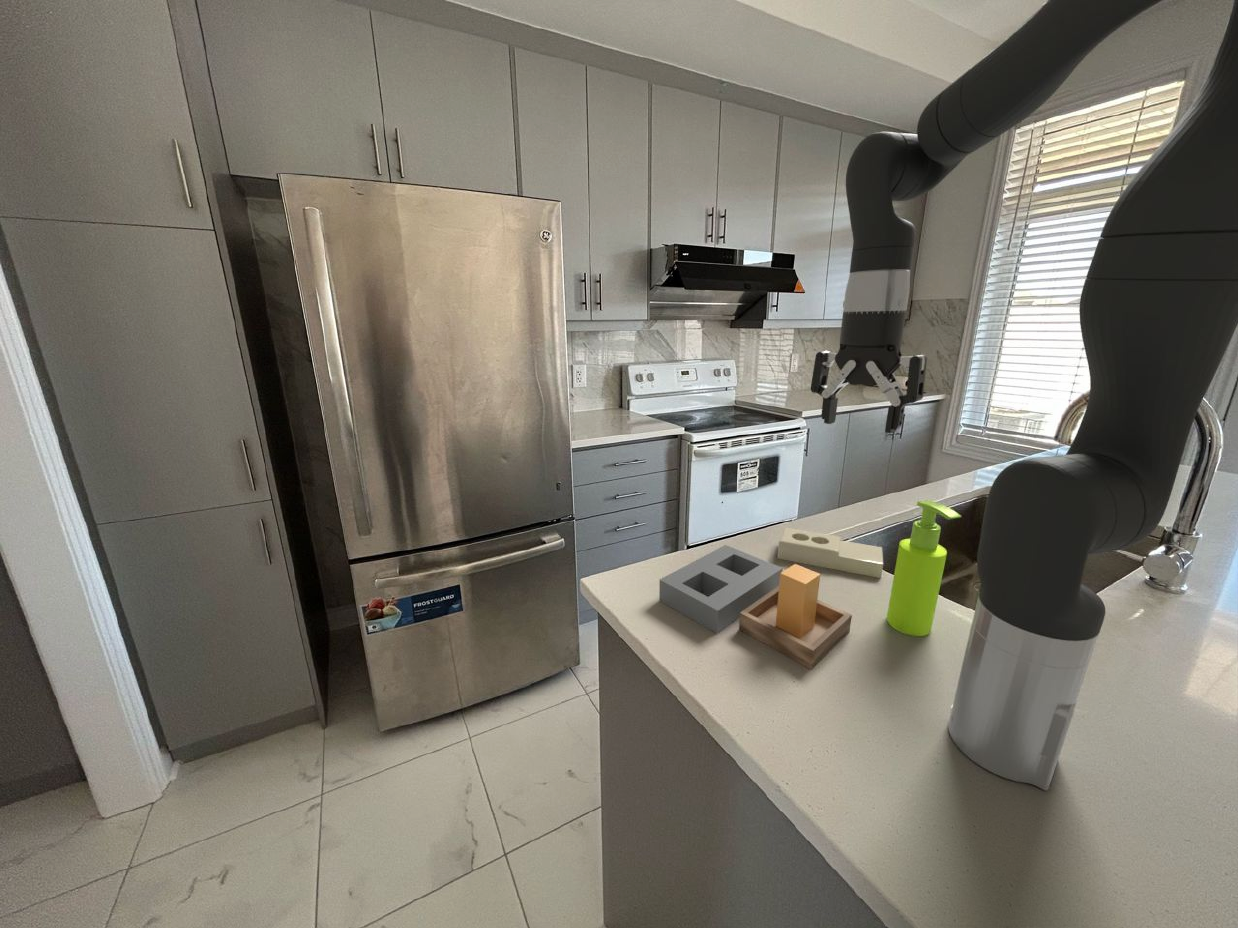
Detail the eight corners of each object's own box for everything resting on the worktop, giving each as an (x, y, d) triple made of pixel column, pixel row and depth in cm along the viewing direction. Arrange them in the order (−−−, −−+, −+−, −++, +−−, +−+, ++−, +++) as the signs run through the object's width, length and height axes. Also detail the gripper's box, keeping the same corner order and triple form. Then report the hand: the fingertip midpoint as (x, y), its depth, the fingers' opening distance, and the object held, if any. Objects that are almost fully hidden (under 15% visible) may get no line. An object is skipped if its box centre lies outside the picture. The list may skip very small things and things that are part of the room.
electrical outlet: (884, 559, 85) (778, 541, 93) (880, 579, 86) (777, 559, 94) (882, 542, 91) (784, 526, 99) (879, 561, 92) (782, 544, 100)
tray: (849, 631, 72) (851, 614, 71) (811, 669, 65) (813, 650, 64) (779, 599, 80) (781, 584, 79) (738, 629, 73) (739, 612, 72)
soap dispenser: (914, 643, 69) (939, 516, 63) (877, 616, 75) (897, 498, 69) (946, 636, 70) (974, 511, 64) (908, 609, 77) (929, 493, 71)
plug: (814, 626, 72) (820, 574, 69) (799, 638, 69) (805, 584, 67) (790, 614, 75) (795, 563, 72) (775, 625, 72) (780, 573, 70)
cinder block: (780, 588, 83) (782, 568, 82) (716, 633, 72) (717, 610, 71) (724, 563, 92) (725, 544, 91) (659, 600, 81) (659, 579, 80)
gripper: (945, 307, 61) (923, 431, 66) (834, 309, 71) (822, 416, 76) (924, 307, 56) (902, 441, 61) (809, 310, 66) (798, 424, 71)
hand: (858, 427), depth 68 cm, fingers open, 8 cm apart
